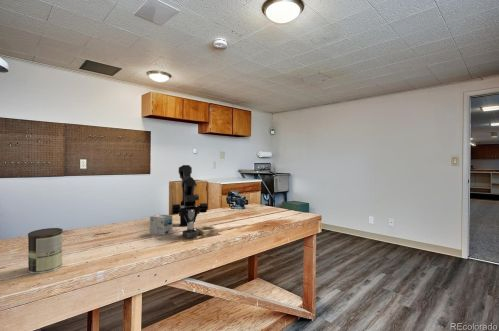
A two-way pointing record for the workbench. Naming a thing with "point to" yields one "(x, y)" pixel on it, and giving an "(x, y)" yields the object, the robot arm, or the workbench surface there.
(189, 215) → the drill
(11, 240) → the workbench surface
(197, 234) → the socket rack board
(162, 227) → the light bulb box
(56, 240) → the coffee can
